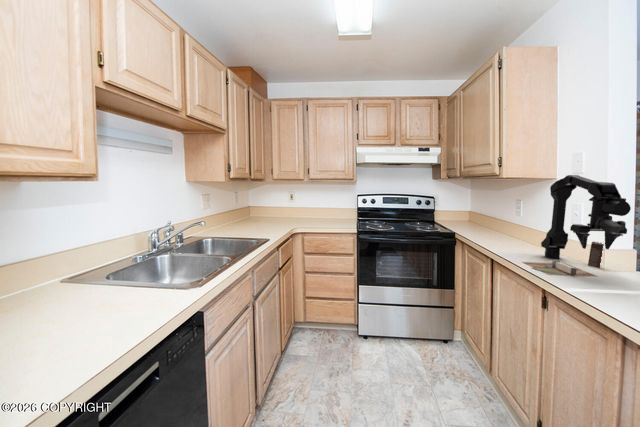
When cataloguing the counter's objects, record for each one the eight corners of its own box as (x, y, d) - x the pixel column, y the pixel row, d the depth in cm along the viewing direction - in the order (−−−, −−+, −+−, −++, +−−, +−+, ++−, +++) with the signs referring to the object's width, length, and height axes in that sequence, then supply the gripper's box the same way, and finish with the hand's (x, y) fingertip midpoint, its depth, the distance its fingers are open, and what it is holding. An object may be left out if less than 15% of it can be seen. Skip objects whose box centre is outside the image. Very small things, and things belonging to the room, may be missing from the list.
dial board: (518, 264, 150) (518, 261, 150) (564, 265, 149) (564, 262, 148) (545, 277, 130) (545, 274, 130) (599, 279, 128) (599, 276, 128)
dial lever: (550, 266, 142) (551, 259, 141) (557, 266, 141) (557, 259, 141) (571, 274, 129) (572, 267, 128) (578, 275, 129) (579, 267, 128)
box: (600, 270, 142) (603, 244, 141) (587, 267, 145) (590, 242, 144) (601, 267, 146) (604, 242, 145) (588, 265, 149) (591, 241, 148)
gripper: (592, 214, 122) (587, 253, 124) (642, 215, 121) (636, 254, 123) (571, 211, 133) (567, 246, 135) (617, 212, 132) (612, 247, 134)
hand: (595, 248), depth 131 cm, fingers open, 9 cm apart
